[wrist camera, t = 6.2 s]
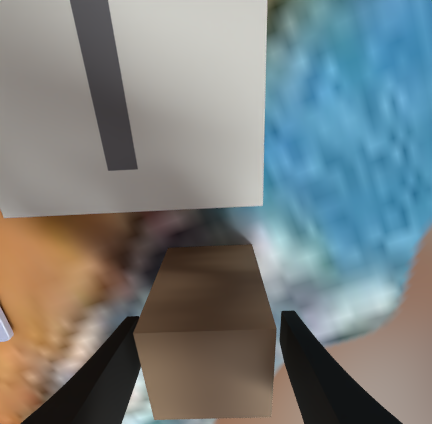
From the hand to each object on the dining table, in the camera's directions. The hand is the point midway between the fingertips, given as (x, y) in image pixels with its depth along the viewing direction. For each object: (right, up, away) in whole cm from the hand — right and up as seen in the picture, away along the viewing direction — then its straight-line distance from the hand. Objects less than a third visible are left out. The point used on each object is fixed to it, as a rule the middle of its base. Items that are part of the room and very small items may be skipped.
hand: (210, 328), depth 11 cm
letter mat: (-5, +13, -1) cm, 14 cm away
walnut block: (0, +2, +3) cm, 3 cm away
